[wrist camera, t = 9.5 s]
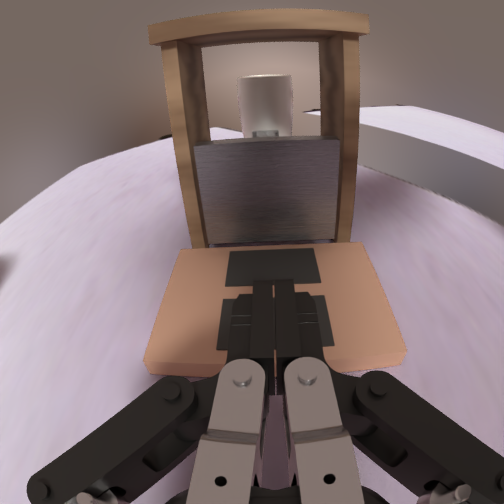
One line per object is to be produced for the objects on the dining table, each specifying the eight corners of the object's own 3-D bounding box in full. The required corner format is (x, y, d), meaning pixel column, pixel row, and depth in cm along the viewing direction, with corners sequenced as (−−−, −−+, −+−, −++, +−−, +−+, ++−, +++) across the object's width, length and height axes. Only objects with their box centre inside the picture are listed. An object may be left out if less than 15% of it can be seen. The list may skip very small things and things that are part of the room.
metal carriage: (233, 168, 47) (226, 102, 41) (301, 165, 46) (299, 99, 40) (209, 269, 26) (189, 146, 20) (334, 264, 25) (344, 140, 19)
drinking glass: (247, 197, 38) (237, 78, 30) (243, 178, 44) (234, 76, 35) (300, 193, 39) (297, 75, 30) (289, 174, 44) (285, 74, 36)
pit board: (183, 262, 28) (180, 248, 27) (359, 255, 27) (361, 240, 26) (150, 373, 18) (142, 359, 17) (400, 364, 17) (407, 349, 16)
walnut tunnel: (205, 205, 37) (184, 36, 26) (332, 199, 36) (332, 29, 25) (186, 261, 28) (147, 25, 16) (356, 254, 27) (368, 14, 15)
